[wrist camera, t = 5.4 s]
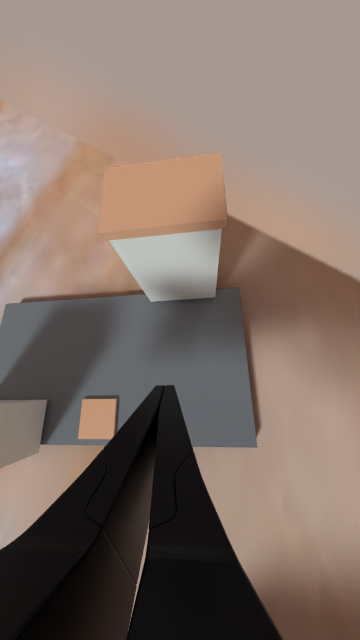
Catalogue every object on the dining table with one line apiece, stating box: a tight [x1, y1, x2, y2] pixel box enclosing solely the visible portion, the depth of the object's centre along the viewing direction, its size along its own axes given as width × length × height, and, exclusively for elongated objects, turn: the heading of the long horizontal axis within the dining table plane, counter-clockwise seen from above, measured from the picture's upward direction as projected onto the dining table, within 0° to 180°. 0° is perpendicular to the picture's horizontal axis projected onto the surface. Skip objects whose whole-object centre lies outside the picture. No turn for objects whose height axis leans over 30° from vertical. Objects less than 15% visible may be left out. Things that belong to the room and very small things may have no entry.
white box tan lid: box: [97, 152, 228, 302], centre depth 15 cm, size 4×6×10 cm
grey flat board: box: [0, 288, 257, 447], centre depth 19 cm, size 13×24×2 cm, turn 91°
